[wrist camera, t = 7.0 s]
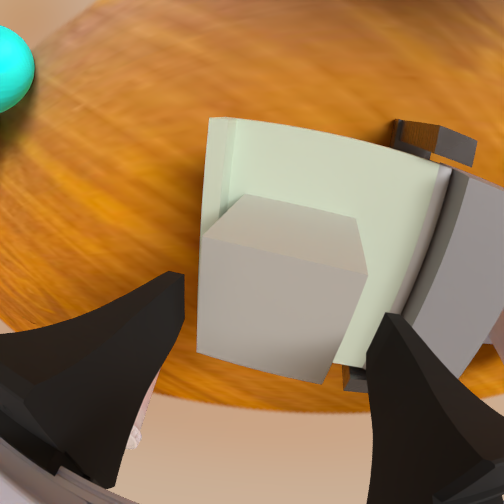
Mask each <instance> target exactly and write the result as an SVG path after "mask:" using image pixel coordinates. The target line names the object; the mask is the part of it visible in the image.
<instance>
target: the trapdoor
mask: <svg viewBox="0 0 504 504" xmlns="http://www.w3.org/2000/svg"><path fill="white" fill-rule="evenodd" d="M244 194H250V195H255V196H260V197H265V198H269V199H274V200H279V201H284V202H288V203H293V204H297V205H302V206H306V207H311V208H315V209H319V210H324V211H328V212H332V213H336V214H340V215H344V216H348V217H352V218H356V222H357V226H358V230H359V234H360V238H361V243H362V247H363V251H364V256H365V261H366V266H367V270H368V278H367V280H366V283H365V286H364V288H363V291H362V294H361V296H360V299H359V301H358V304H357V306H356V309H355V311H354V314H353V316H352V319H351V321H350V324H349V326H348V328H347V331H346V333H345V335H344V338H343V340H342V342H341V345H340V347H339V349H338V351H337V353H336V356H335V358H334V360H333V362H332V363H337V364H343V365H348V366H354V367H360V368H363V369H365V370H366V352H367V350H368V348H369V346H370V344H371V342H372V340H373V338H374V336H375V333H376V331H377V329H378V327H379V325H380V323H381V320H382V318H383V316H384V314H385V312H388V313H394V314H400V315H401V316H402V317H403V318H404V319H405V320H406V321H407V322H408V323H409V324H410V325H411V327H412V328H413V329H414V330H415V331H416V333H417V334H418V335H419V336H420V337H421V338H422V340H423V341H424V342H425V343H426V344H427V346H428V347H429V348H430V349H431V350H432V352H433V353H434V354H435V355H436V356H437V357H438V358H439V360H440V361H441V362H442V363H443V364H444V365H445V366H446V367H447V368H448V369H449V371H450V372H451V373H452V374H453V375H454V376H455V377H456V378H457V379H458V378H459V377H460V376H461V374H462V373H463V372H464V370H465V369H466V367H467V366H468V365H469V363H470V362H471V360H472V359H473V357H474V356H475V354H476V353H477V351H478V350H479V348H480V347H481V345H482V344H483V342H484V341H485V339H486V337H487V336H488V334H489V333H490V331H491V329H492V328H493V326H494V324H495V323H496V321H497V319H498V317H499V315H500V314H501V312H502V310H503V308H504V188H503V187H501V186H499V185H496V184H494V183H492V182H489V181H487V180H485V179H482V178H480V177H477V176H475V175H472V174H470V173H467V172H465V171H462V170H460V169H457V168H454V167H452V166H449V165H446V164H443V163H437V162H434V161H431V160H428V159H425V158H422V157H419V156H415V155H412V154H409V153H406V152H402V151H399V150H395V149H392V148H388V147H385V146H381V145H377V144H374V143H370V142H366V141H362V140H358V139H354V138H349V137H345V136H341V135H336V134H331V133H327V132H322V131H317V130H312V129H306V128H301V127H295V126H289V125H283V124H277V123H270V122H263V121H256V120H248V119H239V118H230V117H214V118H209V127H208V137H207V148H206V159H205V171H204V184H203V197H202V212H201V229H200V249H199V272H198V298H199V277H200V259H201V243H202V236H203V235H204V234H205V233H206V232H207V231H208V230H209V229H210V228H211V227H212V226H213V225H214V224H215V223H216V222H217V221H218V220H219V219H220V218H221V217H222V216H223V215H224V214H225V213H226V212H227V211H228V210H229V209H230V208H231V207H232V206H233V205H234V204H235V203H236V202H237V201H238V200H239V199H240V198H241V197H242V196H243V195H244ZM197 324H198V305H197Z"/></svg>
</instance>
